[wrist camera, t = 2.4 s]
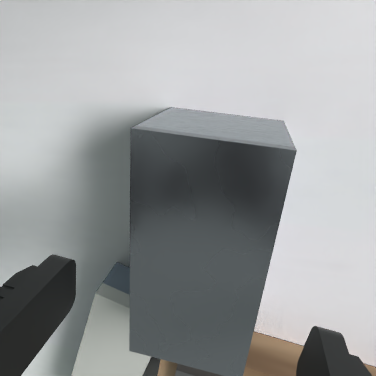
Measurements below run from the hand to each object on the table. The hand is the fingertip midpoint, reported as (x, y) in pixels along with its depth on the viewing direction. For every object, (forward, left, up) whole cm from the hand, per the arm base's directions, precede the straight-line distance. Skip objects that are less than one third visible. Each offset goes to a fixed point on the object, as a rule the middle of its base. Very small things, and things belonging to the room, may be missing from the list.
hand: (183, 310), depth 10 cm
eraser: (+11, -4, -7) cm, 13 cm away
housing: (-1, 0, -6) cm, 6 cm away
